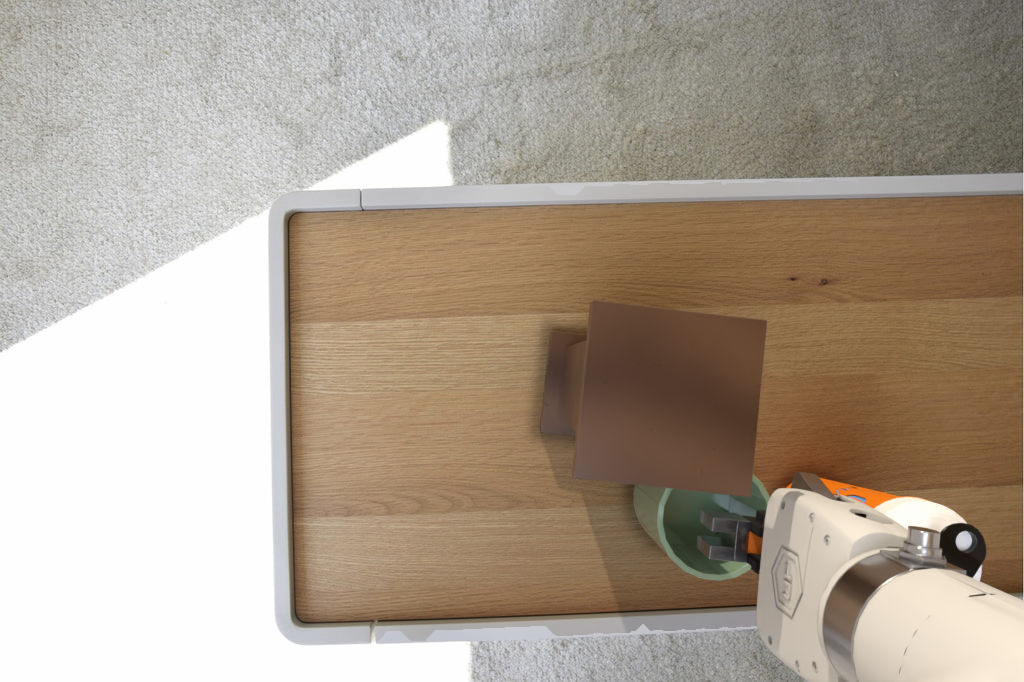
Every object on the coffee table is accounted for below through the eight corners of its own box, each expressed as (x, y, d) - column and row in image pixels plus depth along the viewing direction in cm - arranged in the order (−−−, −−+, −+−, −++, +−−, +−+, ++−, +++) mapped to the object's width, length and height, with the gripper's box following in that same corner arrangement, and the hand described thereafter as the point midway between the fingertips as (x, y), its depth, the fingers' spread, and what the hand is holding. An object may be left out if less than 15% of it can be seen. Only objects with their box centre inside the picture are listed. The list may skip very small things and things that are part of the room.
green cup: (727, 553, 65) (769, 586, 55) (628, 542, 65) (651, 573, 55) (736, 453, 66) (780, 467, 56) (638, 442, 66) (663, 454, 56)
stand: (638, 442, 66) (750, 497, 37) (539, 430, 65) (573, 477, 36) (648, 342, 66) (767, 320, 37) (550, 331, 66) (592, 299, 37)
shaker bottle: (868, 489, 66) (1030, 540, 46) (833, 571, 65) (981, 659, 45) (788, 452, 66) (915, 487, 46) (752, 534, 65) (865, 605, 45)
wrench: (782, 517, 51) (800, 527, 48) (778, 556, 51) (796, 568, 48) (700, 508, 51) (713, 517, 48) (696, 547, 50) (709, 559, 47)
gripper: (846, 463, 32) (719, 428, 50) (816, 793, 31) (698, 635, 50) (997, 480, 32) (815, 439, 50) (971, 809, 31) (796, 645, 50)
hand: (758, 536), depth 50 cm, fingers closed on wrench
